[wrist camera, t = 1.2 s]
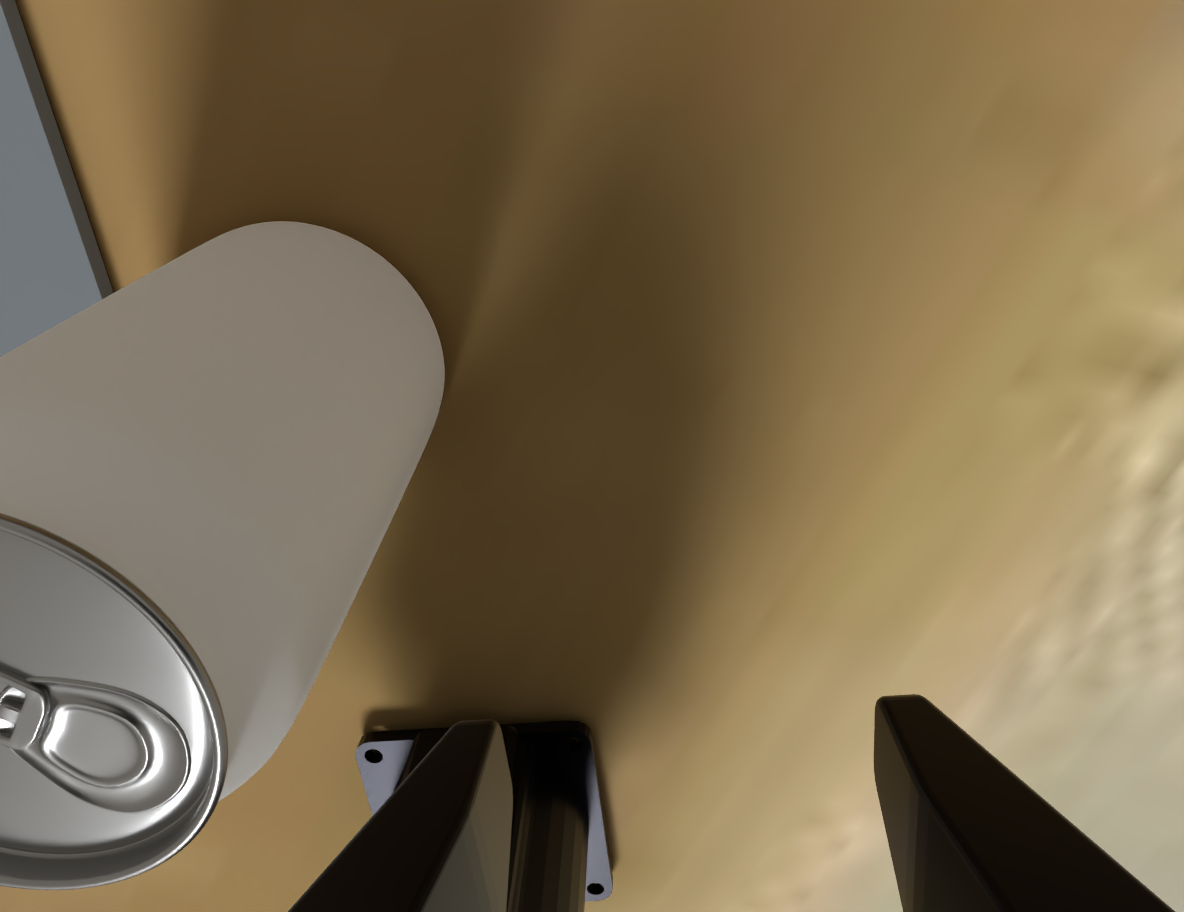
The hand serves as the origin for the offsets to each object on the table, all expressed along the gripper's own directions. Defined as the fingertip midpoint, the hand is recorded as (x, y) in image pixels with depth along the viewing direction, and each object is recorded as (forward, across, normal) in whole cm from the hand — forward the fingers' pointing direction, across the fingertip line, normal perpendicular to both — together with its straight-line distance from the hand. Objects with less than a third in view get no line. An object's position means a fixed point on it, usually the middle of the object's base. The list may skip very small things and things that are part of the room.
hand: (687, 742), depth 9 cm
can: (+13, +8, 0) cm, 15 cm away
